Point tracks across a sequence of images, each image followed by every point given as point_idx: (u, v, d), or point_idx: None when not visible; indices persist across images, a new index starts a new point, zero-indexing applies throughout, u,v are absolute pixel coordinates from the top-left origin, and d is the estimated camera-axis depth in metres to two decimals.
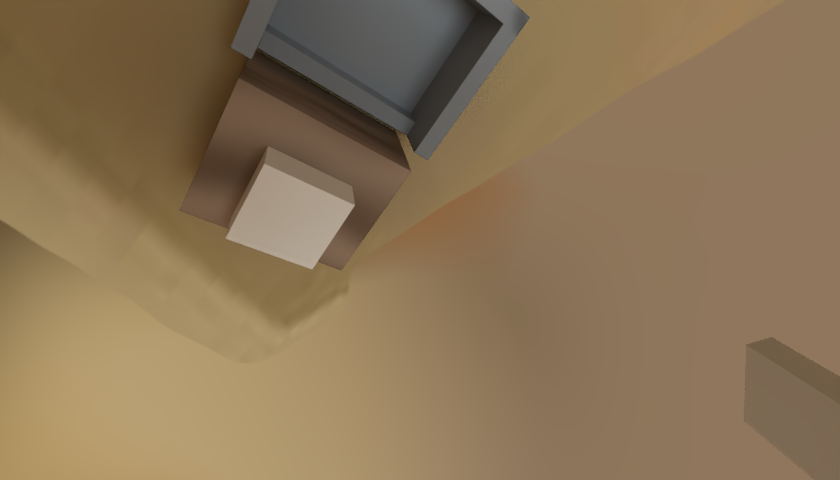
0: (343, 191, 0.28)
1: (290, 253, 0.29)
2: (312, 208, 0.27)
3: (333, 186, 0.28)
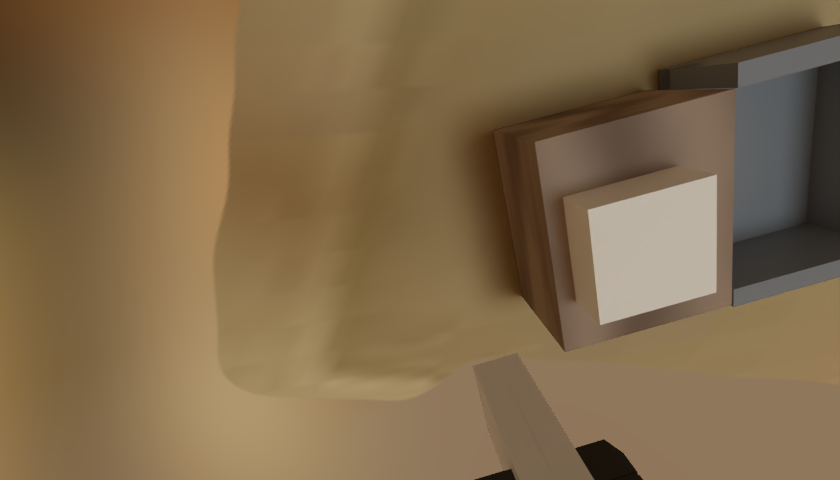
0: None
1: (609, 287, 0.20)
2: (687, 259, 0.20)
3: None
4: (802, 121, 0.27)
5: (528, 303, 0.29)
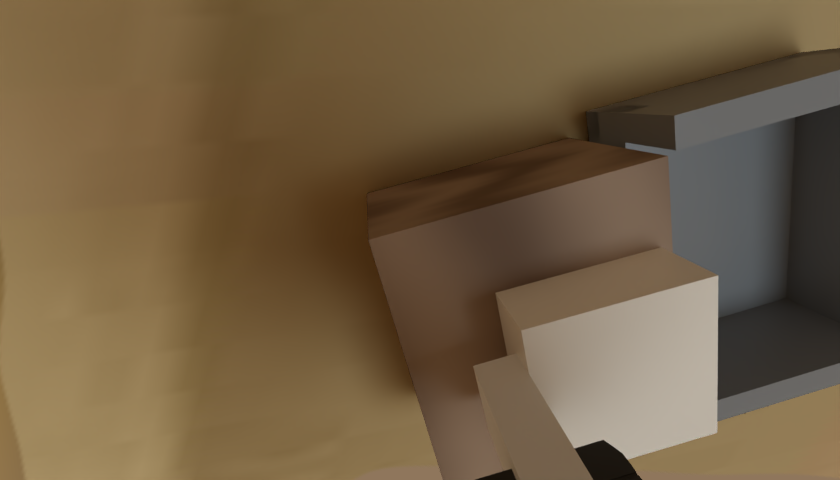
0: None
1: None
2: (674, 392, 0.13)
3: None
4: (777, 174, 0.21)
5: None
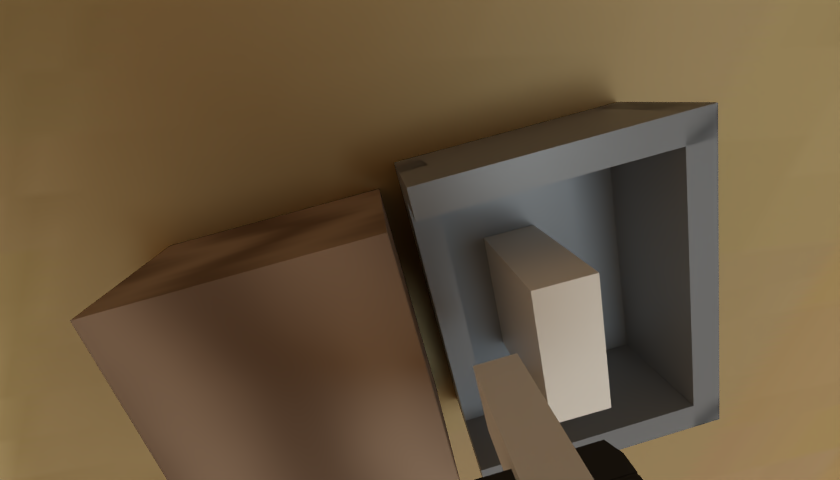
0: None
1: None
2: None
3: None
4: (599, 224, 0.21)
5: None
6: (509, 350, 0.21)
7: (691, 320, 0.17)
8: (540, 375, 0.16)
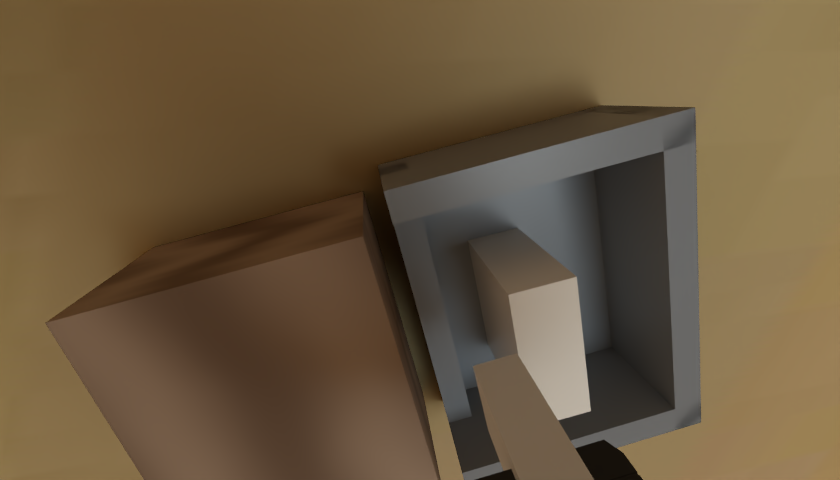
0: None
1: None
2: None
3: None
4: (583, 227, 0.21)
5: None
6: (493, 352, 0.21)
7: (671, 324, 0.17)
8: None
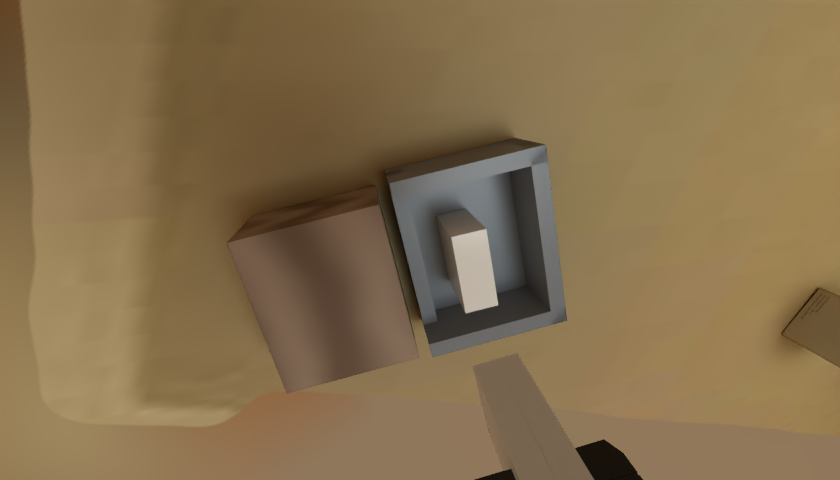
0: None
1: None
2: None
3: None
4: (505, 209, 0.35)
5: None
6: (451, 283, 0.35)
7: (544, 260, 0.31)
8: (459, 285, 0.30)
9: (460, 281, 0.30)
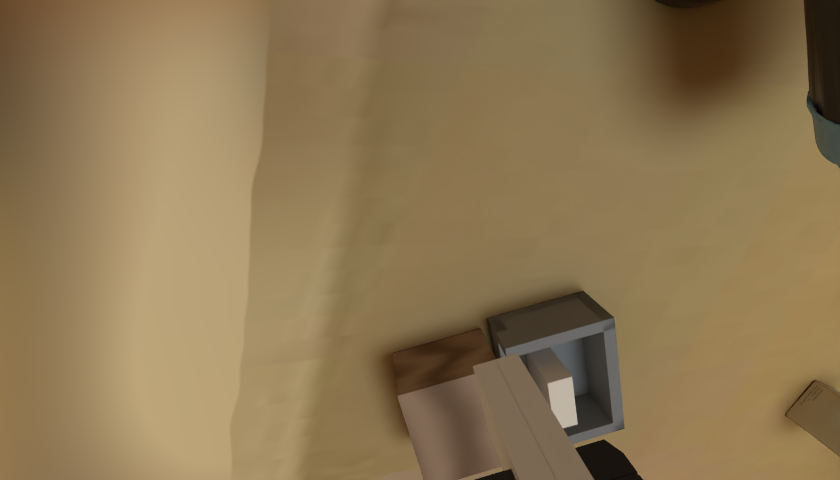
0: None
1: None
2: None
3: None
4: (575, 342, 0.47)
5: None
6: None
7: (609, 389, 0.43)
8: None
9: (552, 410, 0.42)
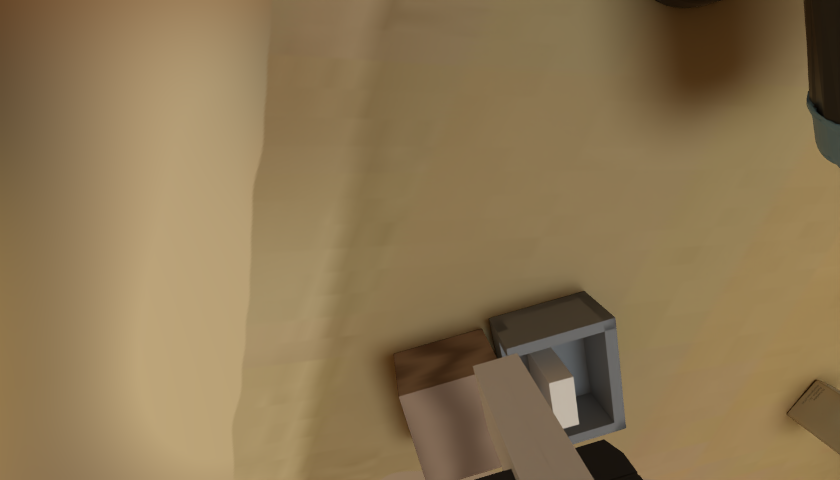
0: None
1: None
2: None
3: None
4: (576, 341, 0.47)
5: None
6: None
7: (611, 389, 0.43)
8: None
9: (553, 410, 0.42)
